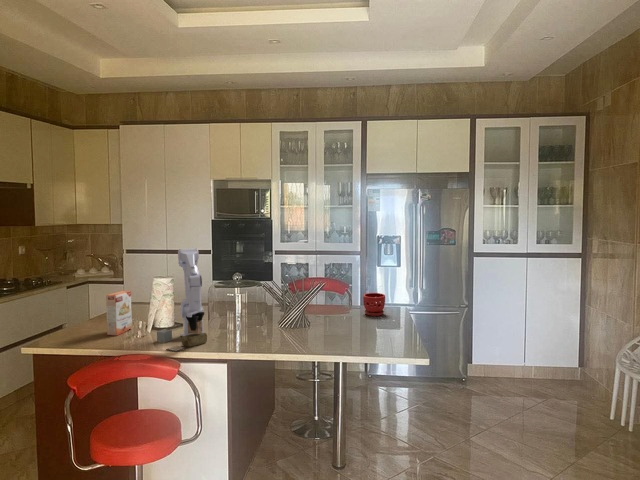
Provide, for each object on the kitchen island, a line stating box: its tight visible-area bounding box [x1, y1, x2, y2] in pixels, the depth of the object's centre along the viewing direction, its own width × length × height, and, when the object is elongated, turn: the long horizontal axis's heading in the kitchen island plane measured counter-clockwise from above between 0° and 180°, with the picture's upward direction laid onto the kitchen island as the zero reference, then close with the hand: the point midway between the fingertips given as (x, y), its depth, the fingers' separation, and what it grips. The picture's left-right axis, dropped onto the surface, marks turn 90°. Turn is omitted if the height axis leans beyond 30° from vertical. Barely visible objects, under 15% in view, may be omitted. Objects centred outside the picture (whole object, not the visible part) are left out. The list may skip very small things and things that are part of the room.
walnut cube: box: [188, 321, 202, 334], centre depth 237 cm, size 5×5×5 cm
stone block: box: [181, 331, 208, 348], centre depth 237 cm, size 6×12×5 cm, turn 140°
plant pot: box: [362, 292, 386, 317], centre depth 299 cm, size 13×13×12 cm
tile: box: [165, 345, 187, 353], centre depth 229 cm, size 6×6×1 cm
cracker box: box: [105, 290, 133, 337], centre depth 260 cm, size 14×6×21 cm, turn 168°
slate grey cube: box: [156, 328, 173, 344], centre depth 244 cm, size 5×5×5 cm
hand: (195, 328), depth 237 cm, fingers closed on walnut cube, 5 cm apart
